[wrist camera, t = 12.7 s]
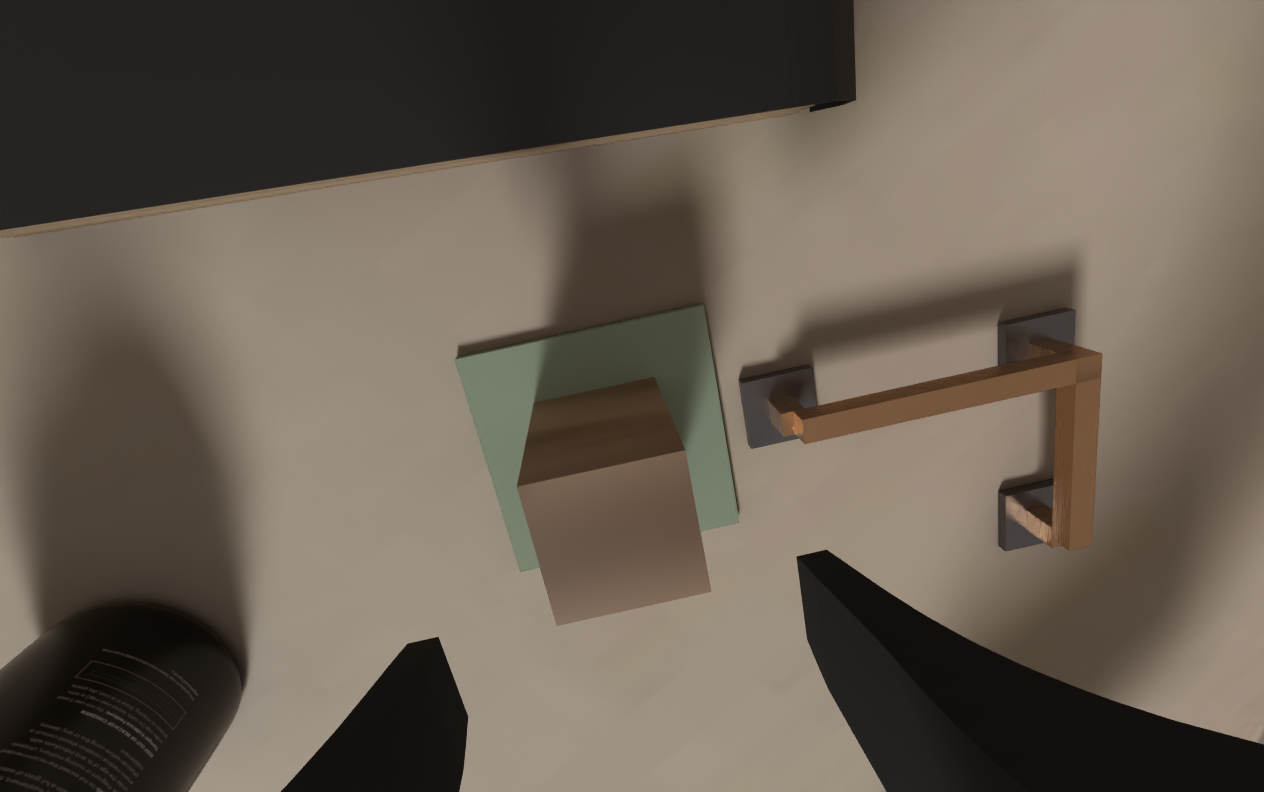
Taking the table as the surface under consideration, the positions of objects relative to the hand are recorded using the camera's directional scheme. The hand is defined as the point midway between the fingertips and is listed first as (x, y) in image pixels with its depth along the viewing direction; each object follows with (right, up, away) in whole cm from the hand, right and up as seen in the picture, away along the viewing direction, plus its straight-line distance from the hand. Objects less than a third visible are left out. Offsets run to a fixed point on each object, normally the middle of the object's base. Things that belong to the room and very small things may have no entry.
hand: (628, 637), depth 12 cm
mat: (-1, +3, +9) cm, 9 cm away
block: (-1, +3, +8) cm, 9 cm away
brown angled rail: (+10, +2, +10) cm, 14 cm away
